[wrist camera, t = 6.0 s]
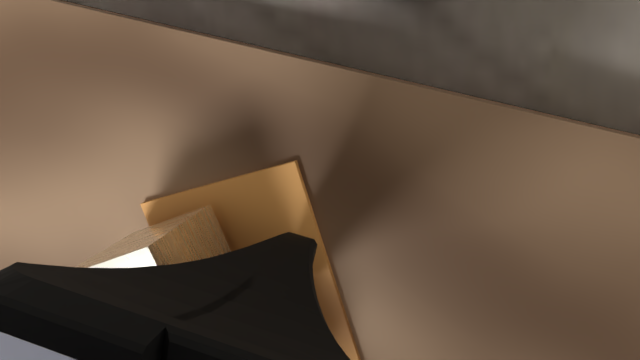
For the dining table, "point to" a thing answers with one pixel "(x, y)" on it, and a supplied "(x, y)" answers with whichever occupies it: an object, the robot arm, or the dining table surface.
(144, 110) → the board
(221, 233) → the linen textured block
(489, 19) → the dining table surface
